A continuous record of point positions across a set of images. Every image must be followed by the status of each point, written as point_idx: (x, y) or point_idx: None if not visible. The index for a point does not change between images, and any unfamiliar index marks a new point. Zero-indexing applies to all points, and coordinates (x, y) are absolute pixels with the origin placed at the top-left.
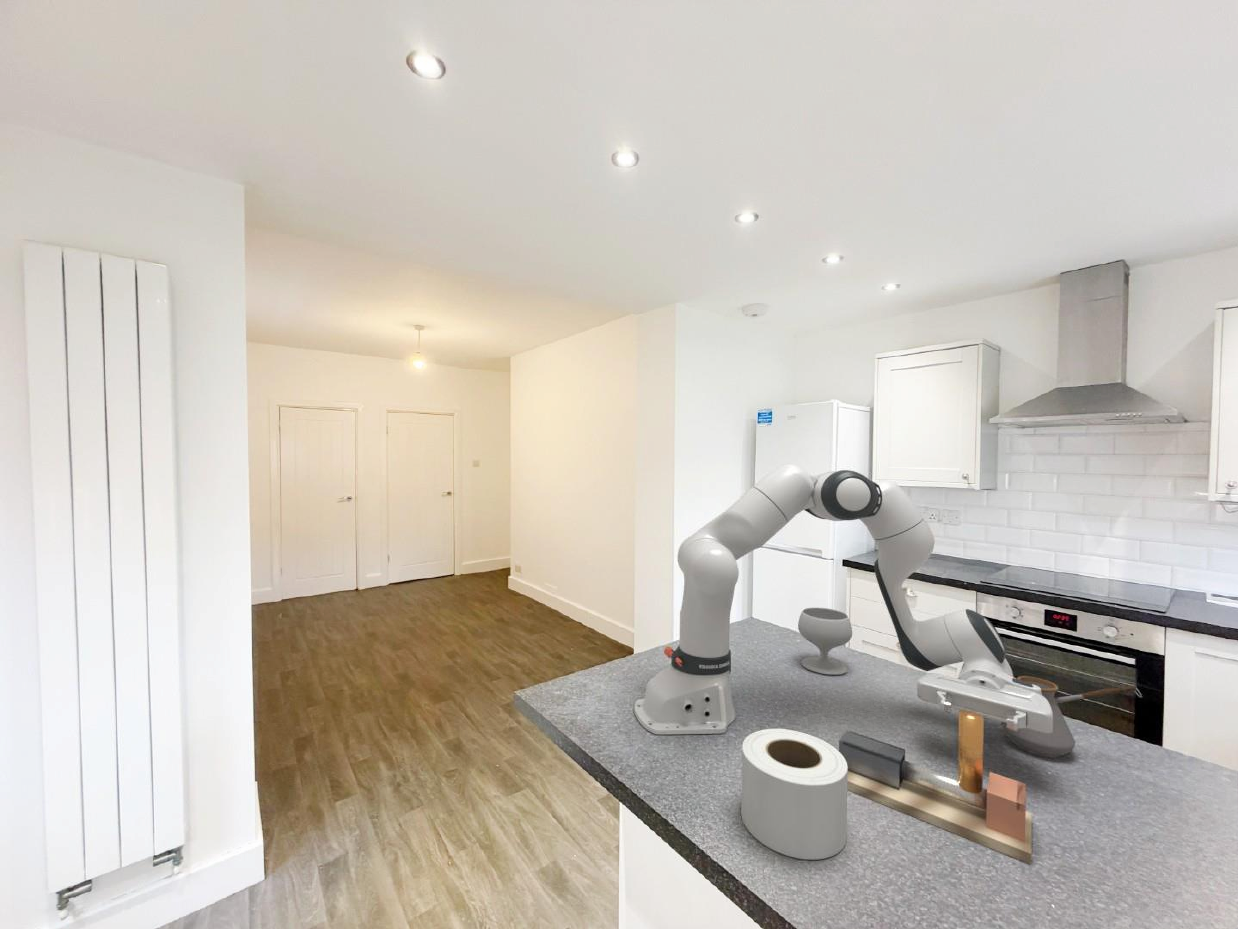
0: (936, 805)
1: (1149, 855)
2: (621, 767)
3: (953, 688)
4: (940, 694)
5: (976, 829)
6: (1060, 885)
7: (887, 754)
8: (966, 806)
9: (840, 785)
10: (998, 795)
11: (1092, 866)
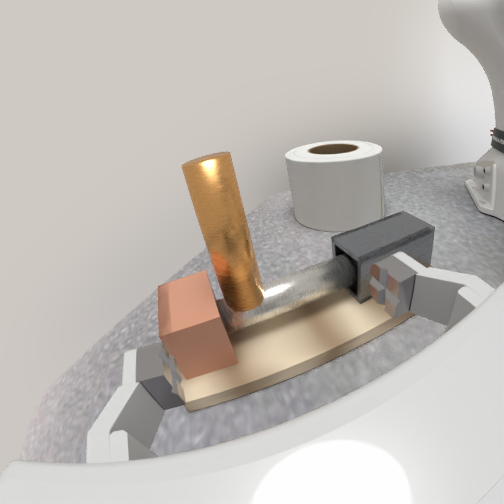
0: None
1: (65, 457)
2: (419, 171)
3: (491, 324)
4: (458, 277)
5: None
6: (151, 324)
7: (353, 234)
8: (260, 328)
9: (286, 162)
10: (190, 275)
11: (121, 380)
